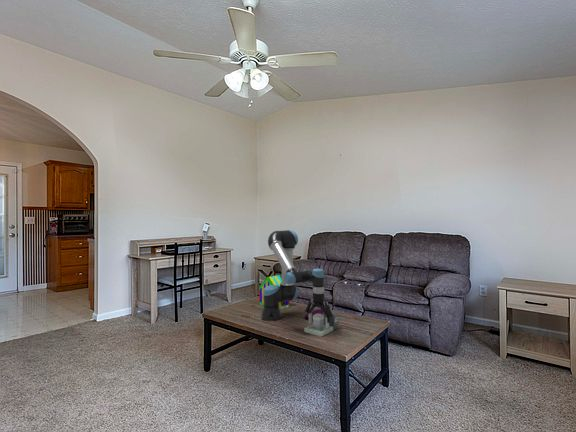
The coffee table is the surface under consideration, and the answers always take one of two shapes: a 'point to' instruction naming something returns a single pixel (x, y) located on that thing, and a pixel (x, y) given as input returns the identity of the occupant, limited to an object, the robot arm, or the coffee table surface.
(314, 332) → the tray
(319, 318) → the module
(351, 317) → the coffee table surface
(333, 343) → the coffee table surface
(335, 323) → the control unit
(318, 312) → the mounting bracket
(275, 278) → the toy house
